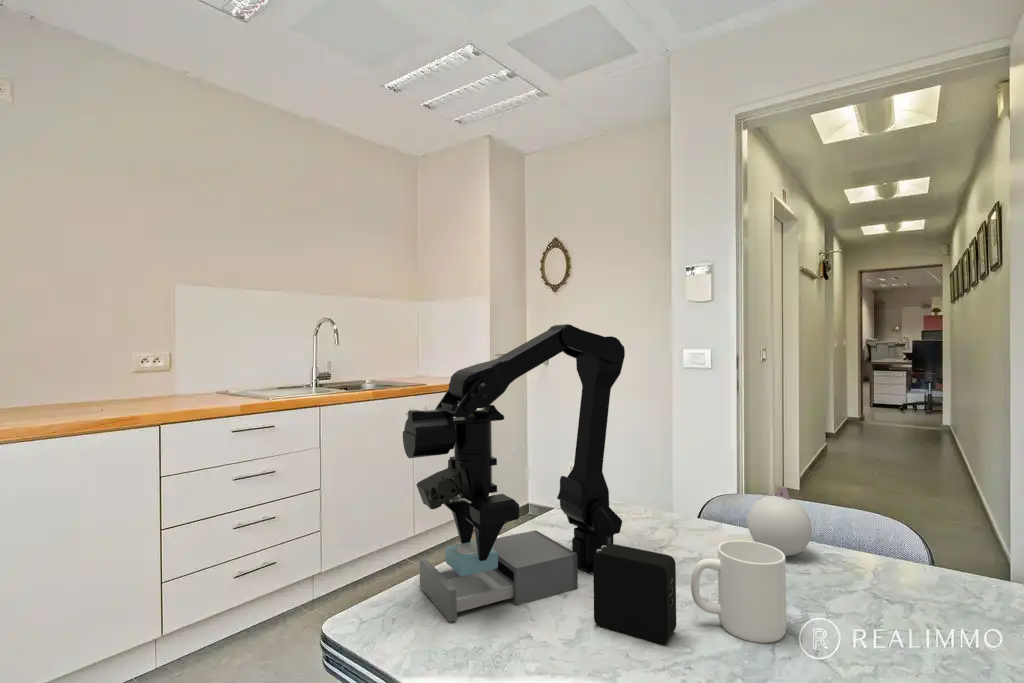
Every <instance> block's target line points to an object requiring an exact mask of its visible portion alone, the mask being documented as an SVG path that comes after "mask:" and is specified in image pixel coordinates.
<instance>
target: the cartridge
mask: <svg viewBox="0 0 1024 683" xmlns="http://www.w3.org/2000/svg"><path fill="white" fill-rule="evenodd" d="M445 563H446V564H447V565H448V566H449V567H450V569H453V570H455V571H456V572H457V573H458V574H459V575H460V576H466V575H470V574H475V573H479V572H483V571H488V570H492V569H496V568H498V552H497V551H496V550H494V549H493V548H492V549H491V551H490V554H489V556H488V558H487V560H485V561H480V560H479V557H478V551H477V543H476V540H471V541H470V542H467V543H461V542H460V543H458V544H453V545H448V546H445Z"/></svg>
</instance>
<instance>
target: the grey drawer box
mask: <svg viewBox="0 0 1024 683" xmlns="http://www.w3.org/2000/svg"><path fill="white" fill-rule="evenodd" d="M492 548H493V549H494V550H496V551H497V552H498V568H496V569H498V570H499V571H500V572H501V573H503V574H504V575H505V576H506V577H508V578H509V579H510V580H512V581H513V582H514V597H513V598H509V599H508V600H509V601H511V602H512V603H513V604H514V605H515V606H520V605H523V604H527V603H531V602H534V601H537V600H541V599H544V598H548V597H552V596H555V595H559V594H562V593H566V592H569V591H574V590H577V589H578V586H579V585H578V583H579V582H578V566H577V553H575V552H573V551H572V550H571V549H570V548H568V547H566V546H564V545H562V544H561V543H559V542H557V541H556V540H554V539H552V538H550V537H549V536H546V535H545V534H543V533H541V532H540V531H539V530H529V531H526V532H521V533H515V534H511V535H506V536H501V537H497V538H496V541H495V543H494V545H493V547H492Z"/></svg>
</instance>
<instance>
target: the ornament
mask: <svg viewBox="0 0 1024 683" xmlns="http://www.w3.org/2000/svg"><path fill="white" fill-rule="evenodd" d="M747 525H748V530H749V534H750V536H751V538H752V540H753V542H758V543H762V544H766V545H769V546H772V547H774V548H777V549H778V550H780V551H782V552H783V553H784V555H785V557H791V556H796V555H798V554H800V553H801V552H803V551H804V550H805V549H806V548H807V546H808V545H809V543H810V540H811V537H812V523H811V519H810V517H809V515H808V512H807V511H806V510H805V509H804V507H803V506H802V505H801V504H800V503H798V502H797V501H795V500H793V499H791V497H790V495H789V492H788V489H787V487H786V486H779V487H778V490H777V493H776V495H769V496H764V497H761V498H760V499H758V500H756V501H755V502H754V503H753V505H752V506H751V508H750V510H749V513H748V518H747Z"/></svg>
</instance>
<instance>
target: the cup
mask: <svg viewBox="0 0 1024 683" xmlns="http://www.w3.org/2000/svg"><path fill="white" fill-rule="evenodd" d="M786 566H787V565H786V556H785V555H784V553H783V552H782V551H780V550H778V549H777V548H774V547H772V546H769V545H766V544H762V543H758V542H755V541H751V540H740V539H739V540H728V541H723V542H721V543H720V544H718V546H717V558H704V559H701V560H699V561H698V562H697V563H695V566H694V567H693V570H692V573H691V578H690V590H691V592H690V593H691V597H692V600H693V602H694V603H695V604H696V606H697V607H698V608H699V609H700V610H702V611H703V612H705V613H709V614H714V615H718V620H719V622H720V626H722V627H723V629H724V630H725V631H726V632H728V634H731V635H732V636H734V637H736V638H739V639H742V640H745V641H747V642H751V643H758V642H759V644H769V643H775V642H779V641H780V640H782V638H783V637H785V633H786V630H787V580H786V579H787V578H786V577H787V576H786ZM706 569H711V570H712V569H713V570H716V571H717V591H718V593H717V594H718V596H717V597H718V598H717V599H718V601H717V602H718V603H717V602H715V603H710V602H707V601H705V600H704V599H703V598H702V596H701V593H700V581H701V580H700V579H701V576H702V573H703V571H704V570H706Z"/></svg>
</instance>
